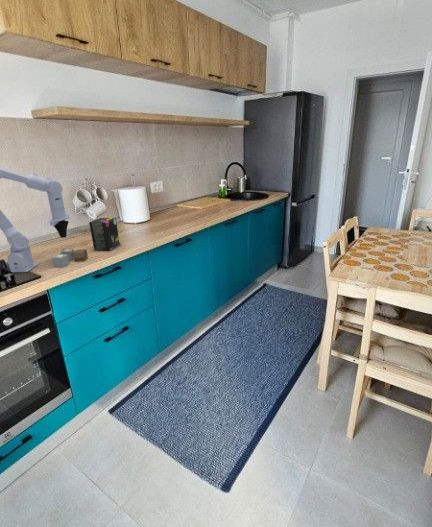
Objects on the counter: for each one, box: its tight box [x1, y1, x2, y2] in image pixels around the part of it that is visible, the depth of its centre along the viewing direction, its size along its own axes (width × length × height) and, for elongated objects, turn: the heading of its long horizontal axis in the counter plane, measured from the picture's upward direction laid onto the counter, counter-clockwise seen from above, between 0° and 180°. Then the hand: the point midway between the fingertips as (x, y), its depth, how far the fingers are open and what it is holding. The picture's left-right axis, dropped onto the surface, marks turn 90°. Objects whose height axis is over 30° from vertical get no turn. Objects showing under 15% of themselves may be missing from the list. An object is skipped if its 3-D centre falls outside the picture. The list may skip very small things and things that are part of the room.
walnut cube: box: [73, 248, 89, 263], centre depth 143 cm, size 4×4×4 cm
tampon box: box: [88, 217, 120, 252], centre depth 158 cm, size 11×9×15 cm
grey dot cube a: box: [59, 248, 75, 262], centre depth 145 cm, size 4×4×5 cm
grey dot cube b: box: [51, 253, 71, 269], centre depth 137 cm, size 4×4×5 cm
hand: (63, 237), depth 144 cm, fingers closed
